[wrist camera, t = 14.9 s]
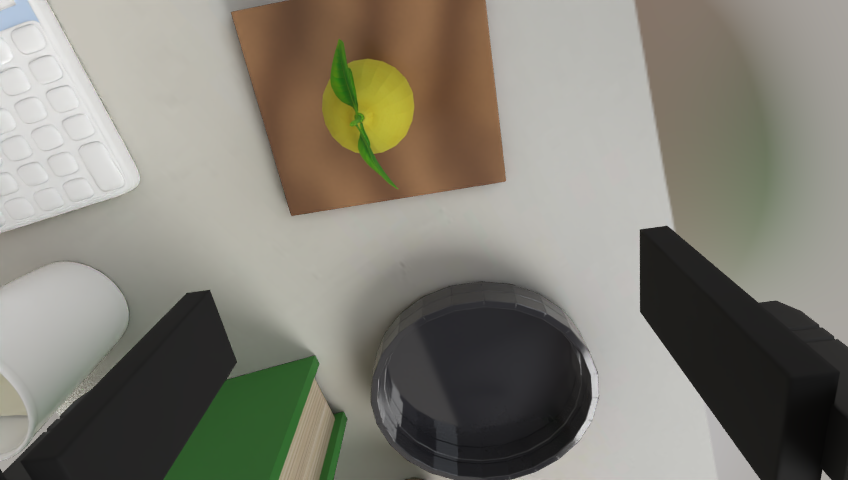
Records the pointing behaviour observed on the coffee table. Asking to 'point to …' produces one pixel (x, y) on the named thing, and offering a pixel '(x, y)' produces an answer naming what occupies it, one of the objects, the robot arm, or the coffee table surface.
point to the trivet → (413, 57)
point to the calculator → (51, 124)
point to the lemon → (367, 106)
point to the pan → (483, 382)
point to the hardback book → (265, 430)
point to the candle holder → (51, 343)
